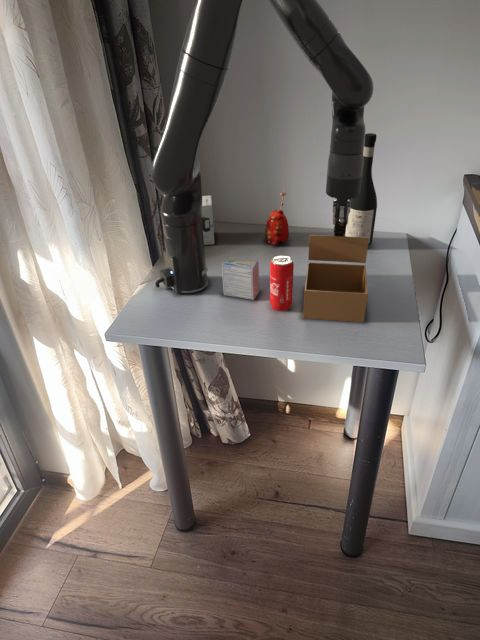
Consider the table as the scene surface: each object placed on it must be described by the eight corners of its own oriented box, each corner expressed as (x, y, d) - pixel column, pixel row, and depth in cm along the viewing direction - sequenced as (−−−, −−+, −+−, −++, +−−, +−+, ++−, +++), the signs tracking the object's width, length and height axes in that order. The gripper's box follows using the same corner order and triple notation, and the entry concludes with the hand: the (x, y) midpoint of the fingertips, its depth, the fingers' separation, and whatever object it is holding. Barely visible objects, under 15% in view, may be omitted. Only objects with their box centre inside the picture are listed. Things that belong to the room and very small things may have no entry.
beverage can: (292, 312, 111) (294, 265, 104) (270, 312, 111) (270, 265, 104) (291, 300, 115) (293, 254, 108) (270, 300, 115) (270, 254, 108)
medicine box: (259, 292, 119) (259, 260, 113) (253, 301, 115) (252, 268, 110) (230, 287, 121) (228, 255, 115) (223, 295, 117) (221, 263, 112)
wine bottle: (368, 251, 136) (383, 139, 118) (341, 247, 139) (351, 136, 121) (374, 240, 142) (389, 131, 124) (347, 236, 145) (358, 129, 126)
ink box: (198, 233, 147) (194, 195, 140) (214, 232, 148) (211, 194, 141) (198, 245, 140) (194, 206, 133) (214, 244, 141) (212, 205, 134)
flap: (308, 260, 115) (308, 259, 115) (365, 263, 113) (365, 262, 114) (309, 235, 110) (309, 234, 110) (369, 238, 109) (369, 237, 109)
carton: (306, 288, 120) (308, 262, 115) (361, 291, 118) (365, 265, 114) (303, 318, 109) (304, 290, 105) (363, 322, 107) (367, 294, 103)
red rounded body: (261, 238, 144) (260, 188, 135) (282, 234, 146) (283, 185, 137) (272, 248, 138) (272, 197, 129) (293, 244, 141) (295, 193, 132)
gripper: (363, 183, 98) (354, 260, 109) (361, 164, 109) (353, 236, 119) (326, 181, 99) (321, 258, 109) (327, 163, 109) (322, 234, 120)
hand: (337, 246), depth 114 cm, fingers closed
